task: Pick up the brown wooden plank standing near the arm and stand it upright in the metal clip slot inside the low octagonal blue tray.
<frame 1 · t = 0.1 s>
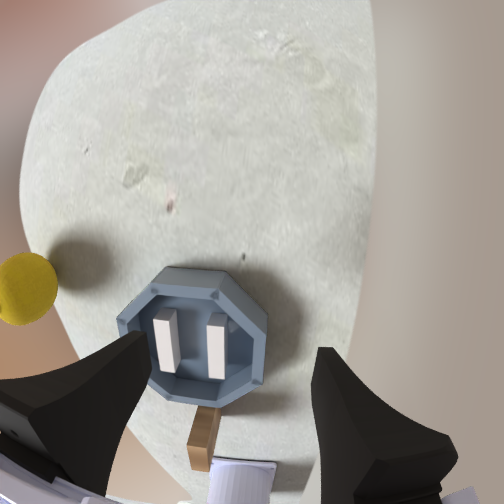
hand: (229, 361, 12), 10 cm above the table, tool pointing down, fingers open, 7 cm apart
brown wooden plank: (212, 401, 26), on the table
octagonal blue tray: (197, 332, 23), on the table
lemon: (52, 270, 23), on the table
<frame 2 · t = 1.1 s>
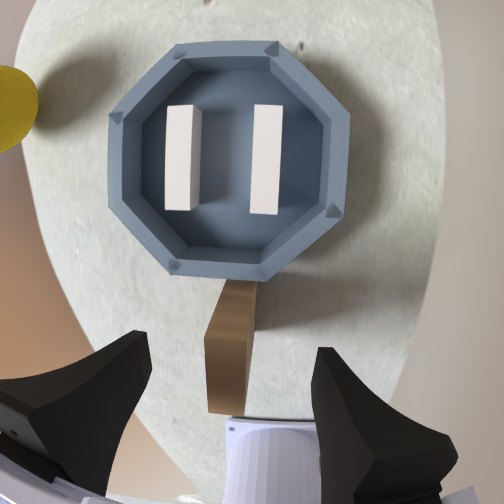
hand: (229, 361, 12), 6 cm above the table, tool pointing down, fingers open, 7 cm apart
brown wooden plank: (243, 301, 17), on the table
octagonal blue tray: (229, 158, 15), on the table
lemon: (35, 113, 15), on the table
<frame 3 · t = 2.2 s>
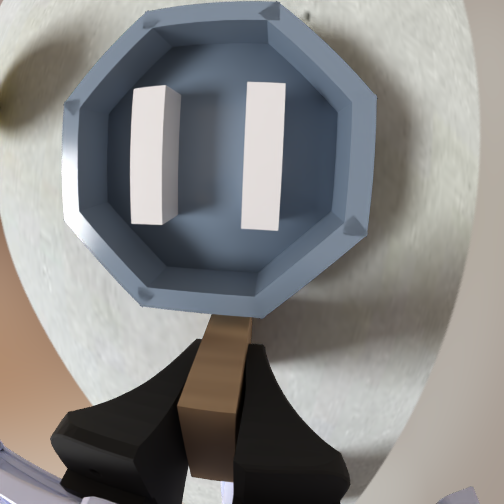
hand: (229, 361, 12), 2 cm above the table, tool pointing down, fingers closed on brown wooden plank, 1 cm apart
brown wooden plank: (235, 331, 14), on the table, touching gripper
octagonal blue tray: (216, 154, 12), on the table
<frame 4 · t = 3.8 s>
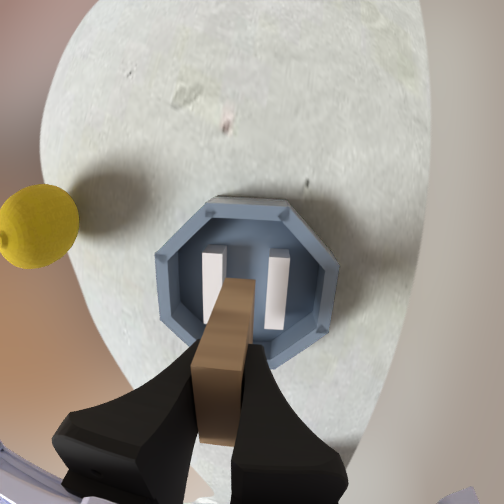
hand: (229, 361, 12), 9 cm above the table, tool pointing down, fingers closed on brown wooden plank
brown wooden plank: (239, 313, 15), point 5 cm above the table, touching gripper
octagonal blue tray: (247, 277, 21), on the table
lemon: (72, 213, 20), on the table
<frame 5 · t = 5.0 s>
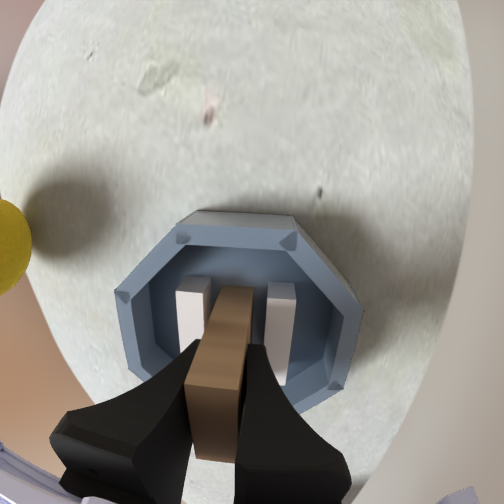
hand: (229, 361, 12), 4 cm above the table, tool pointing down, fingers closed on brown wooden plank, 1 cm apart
brown wooden plank: (237, 322, 15), point 1 cm above the table, touching gripper, octagonal blue tray
octagonal blue tray: (239, 315, 16), on the table
lemon: (29, 230, 15), on the table
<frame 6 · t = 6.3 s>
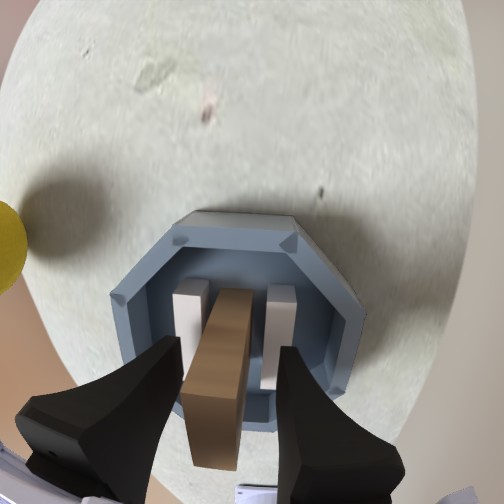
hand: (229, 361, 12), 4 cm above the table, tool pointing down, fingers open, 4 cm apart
brown wooden plank: (236, 325, 14), point 1 cm above the table, touching octagonal blue tray
octagonal blue tray: (238, 318, 15), on the table
lemon: (25, 231, 15), on the table
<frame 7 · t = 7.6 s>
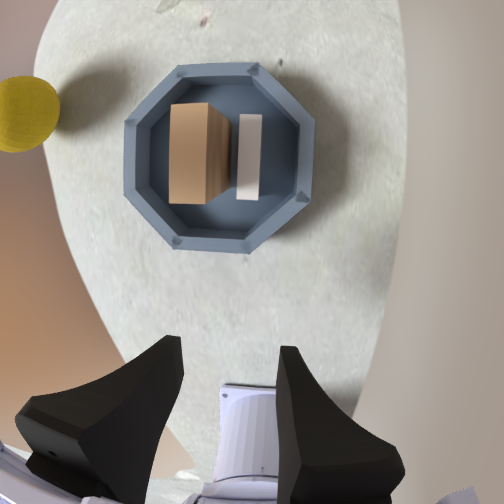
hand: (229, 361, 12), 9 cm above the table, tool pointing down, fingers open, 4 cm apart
brown wooden plank: (219, 155, 18), point 1 cm above the table, touching octagonal blue tray
octagonal blue tray: (221, 156, 18), on the table
lemon: (55, 116, 18), on the table
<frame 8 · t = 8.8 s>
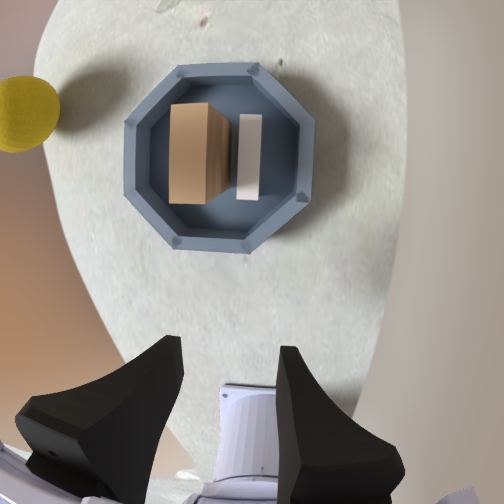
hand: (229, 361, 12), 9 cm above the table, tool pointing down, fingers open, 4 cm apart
brown wooden plank: (219, 155, 18), point 1 cm above the table, touching octagonal blue tray
octagonal blue tray: (221, 156, 18), on the table
lemon: (55, 116, 18), on the table
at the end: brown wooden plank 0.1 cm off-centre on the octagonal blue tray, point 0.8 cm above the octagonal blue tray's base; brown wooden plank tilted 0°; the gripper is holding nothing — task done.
